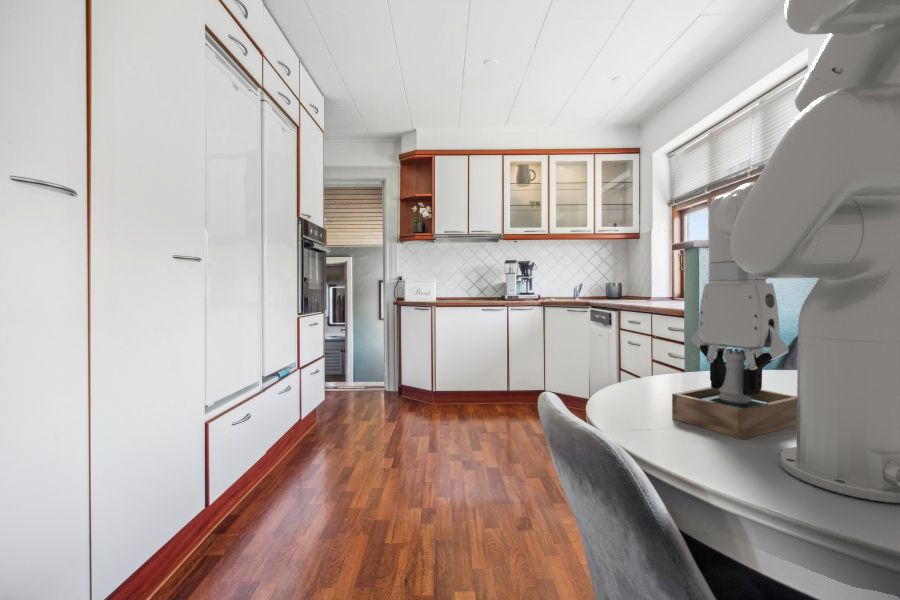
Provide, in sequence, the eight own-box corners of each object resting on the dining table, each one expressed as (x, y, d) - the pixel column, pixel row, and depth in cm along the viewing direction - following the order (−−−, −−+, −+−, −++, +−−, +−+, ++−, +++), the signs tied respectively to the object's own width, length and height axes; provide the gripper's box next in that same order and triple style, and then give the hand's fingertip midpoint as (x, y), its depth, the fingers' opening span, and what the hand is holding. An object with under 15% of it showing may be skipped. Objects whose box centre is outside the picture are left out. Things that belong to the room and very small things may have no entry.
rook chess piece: (741, 396, 71) (742, 347, 71) (758, 404, 67) (759, 352, 66) (712, 396, 72) (713, 347, 71) (727, 404, 67) (728, 352, 67)
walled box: (801, 423, 67) (802, 397, 67) (743, 439, 61) (744, 411, 60) (729, 405, 77) (729, 383, 77) (672, 418, 70) (672, 393, 70)
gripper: (813, 273, 62) (810, 400, 63) (700, 275, 77) (698, 377, 78) (784, 273, 59) (781, 407, 60) (671, 275, 74) (670, 382, 75)
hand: (734, 389), depth 69 cm, fingers closed on rook chess piece, 4 cm apart
